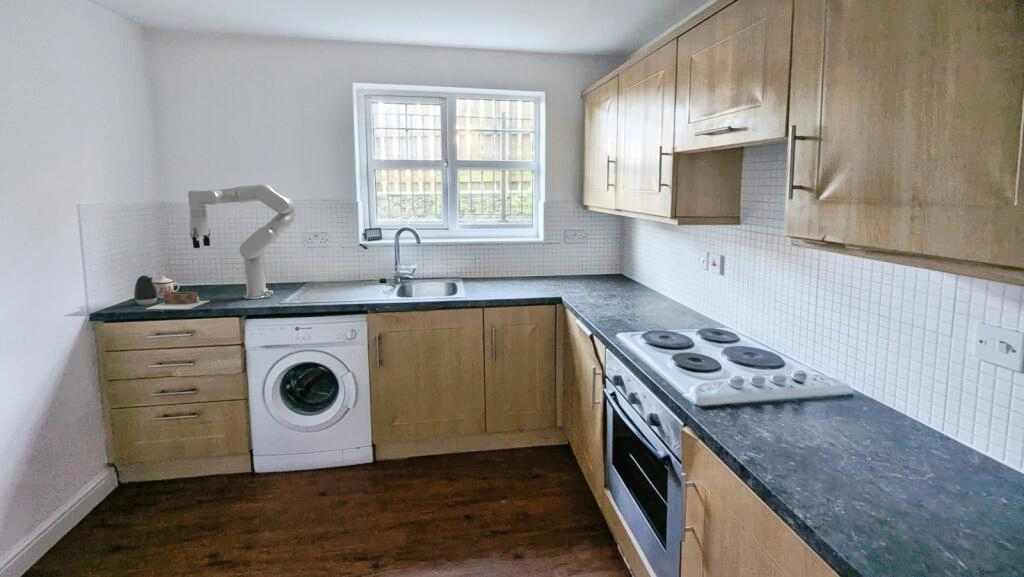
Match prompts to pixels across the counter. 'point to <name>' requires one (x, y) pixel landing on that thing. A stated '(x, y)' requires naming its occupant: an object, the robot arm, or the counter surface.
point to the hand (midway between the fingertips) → (201, 246)
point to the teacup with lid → (164, 286)
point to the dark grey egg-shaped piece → (145, 291)
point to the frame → (180, 297)
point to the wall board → (177, 305)
